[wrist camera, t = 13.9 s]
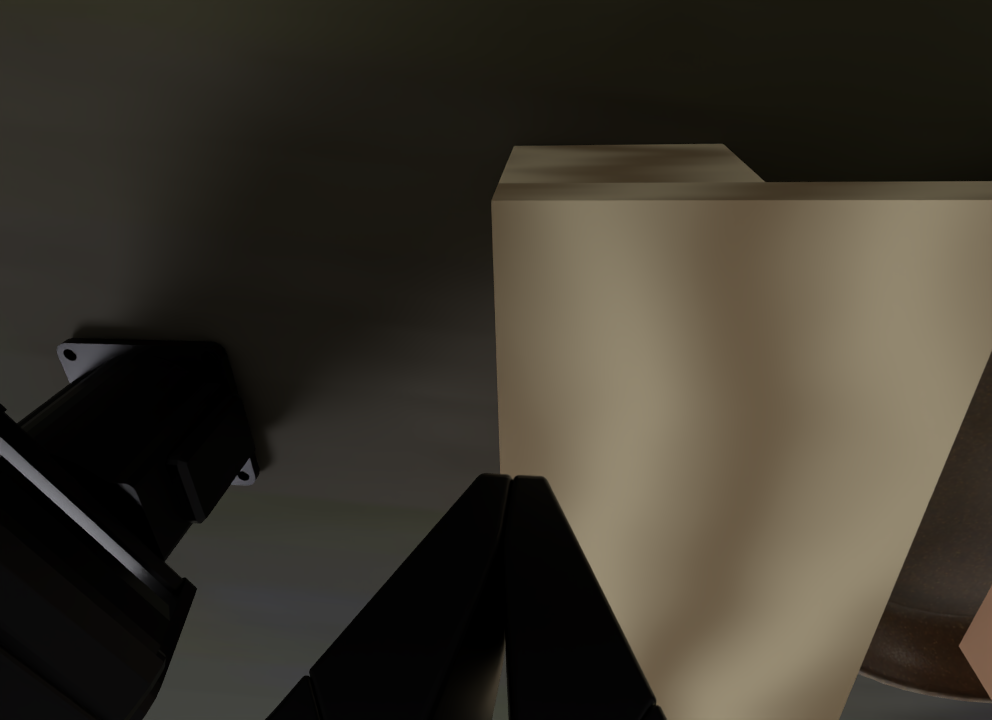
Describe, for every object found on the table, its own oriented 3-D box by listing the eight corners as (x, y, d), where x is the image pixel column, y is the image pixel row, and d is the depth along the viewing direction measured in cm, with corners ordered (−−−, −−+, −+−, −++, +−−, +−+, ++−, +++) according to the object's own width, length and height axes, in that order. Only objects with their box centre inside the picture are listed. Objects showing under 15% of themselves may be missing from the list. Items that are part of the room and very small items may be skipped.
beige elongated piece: (521, 602, 28) (509, 736, 23) (513, 145, 18) (490, 200, 13) (772, 619, 27) (819, 765, 22) (909, 141, 17) (1054, 200, 12)
